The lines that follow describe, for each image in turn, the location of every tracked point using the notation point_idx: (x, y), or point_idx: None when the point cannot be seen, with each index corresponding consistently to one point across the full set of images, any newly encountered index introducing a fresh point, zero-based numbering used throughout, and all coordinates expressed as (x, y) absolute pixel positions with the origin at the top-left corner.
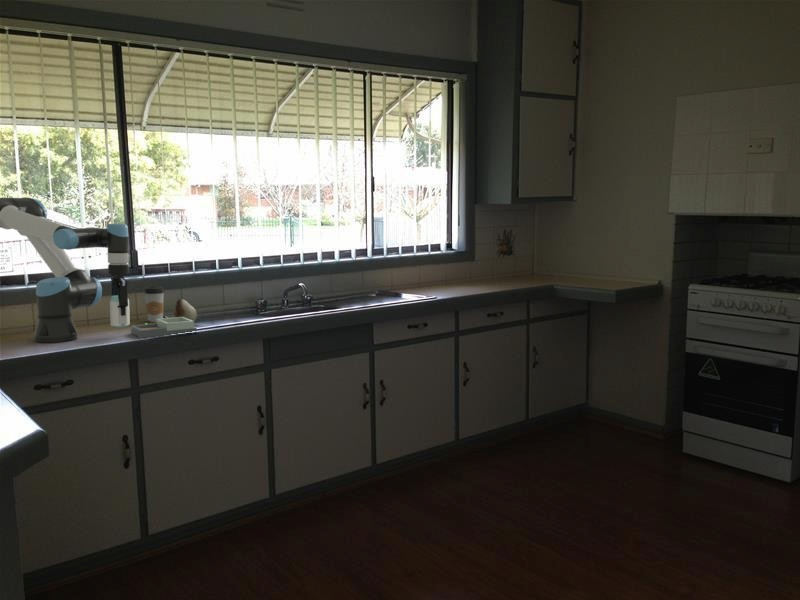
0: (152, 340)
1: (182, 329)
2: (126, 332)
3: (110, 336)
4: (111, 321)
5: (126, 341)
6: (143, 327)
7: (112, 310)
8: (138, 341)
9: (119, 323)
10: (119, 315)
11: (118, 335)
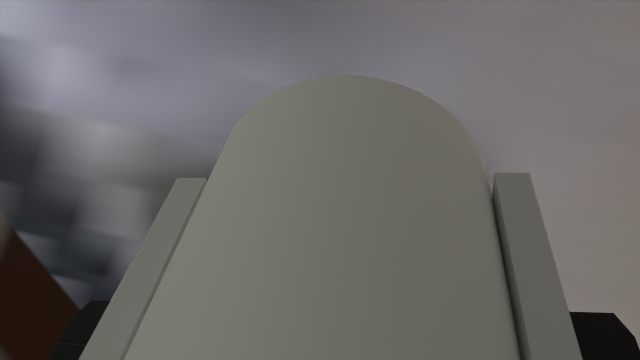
0: (52, 266)
1: None
2: (610, 203)
3: (459, 7)
4: (292, 117)
5: (45, 97)
6: None
7: (192, 289)
8: (25, 181)
9: (174, 185)
10: (122, 283)
11: (470, 101)
